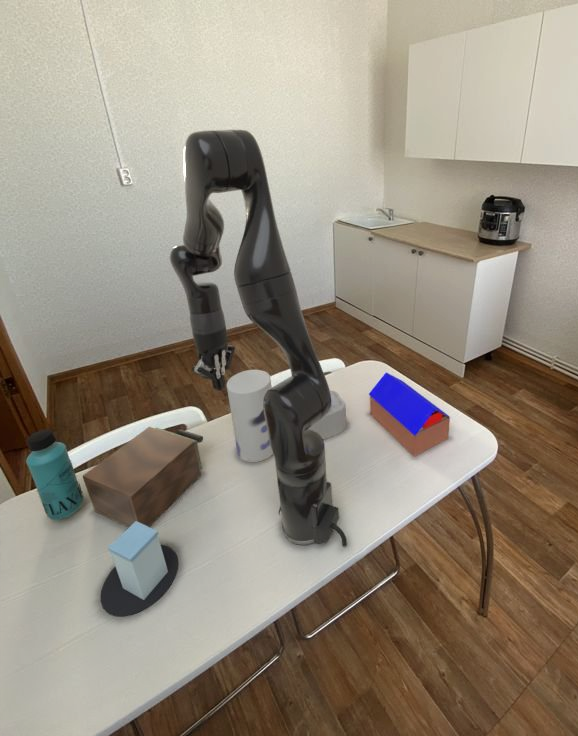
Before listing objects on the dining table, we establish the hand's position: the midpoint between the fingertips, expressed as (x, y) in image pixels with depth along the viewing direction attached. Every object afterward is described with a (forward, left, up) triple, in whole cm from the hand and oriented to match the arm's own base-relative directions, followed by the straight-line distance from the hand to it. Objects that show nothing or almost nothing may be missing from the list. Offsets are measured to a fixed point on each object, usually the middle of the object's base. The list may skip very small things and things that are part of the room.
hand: (220, 388), depth 96 cm
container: (-10, +1, -15) cm, 18 cm away
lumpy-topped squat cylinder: (-21, -12, -15) cm, 29 cm away
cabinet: (+4, +21, -15) cm, 26 cm away
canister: (-12, +35, -14) cm, 40 cm away
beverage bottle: (+16, +31, -15) cm, 38 cm away
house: (-43, -21, -15) cm, 50 cm away
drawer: (+4, +17, -14) cm, 22 cm away
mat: (-10, +35, -15) cm, 39 cm away
